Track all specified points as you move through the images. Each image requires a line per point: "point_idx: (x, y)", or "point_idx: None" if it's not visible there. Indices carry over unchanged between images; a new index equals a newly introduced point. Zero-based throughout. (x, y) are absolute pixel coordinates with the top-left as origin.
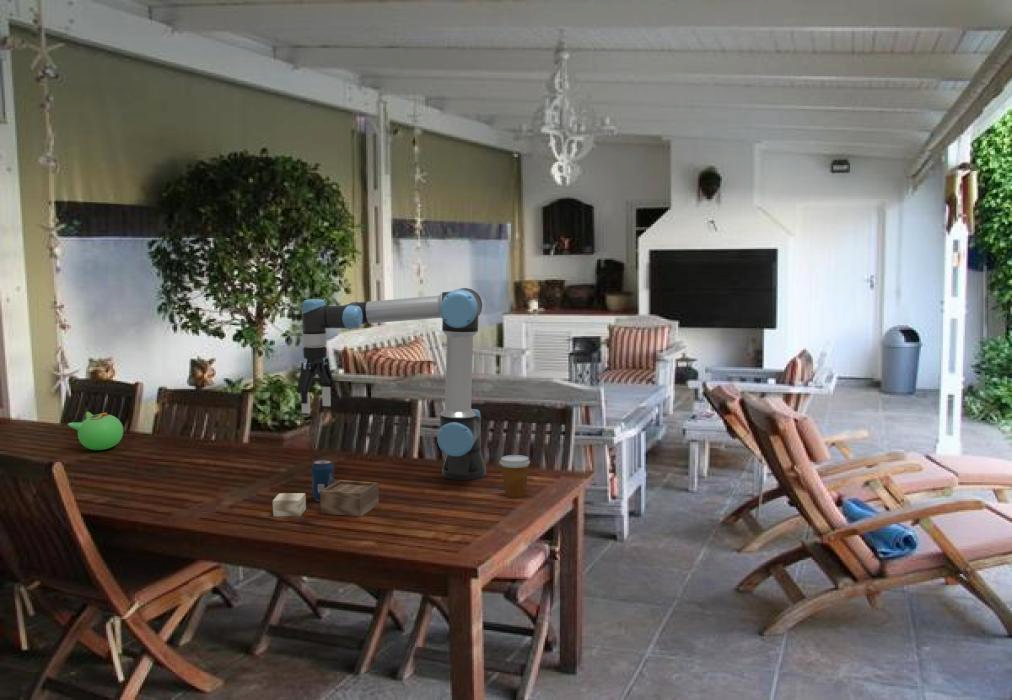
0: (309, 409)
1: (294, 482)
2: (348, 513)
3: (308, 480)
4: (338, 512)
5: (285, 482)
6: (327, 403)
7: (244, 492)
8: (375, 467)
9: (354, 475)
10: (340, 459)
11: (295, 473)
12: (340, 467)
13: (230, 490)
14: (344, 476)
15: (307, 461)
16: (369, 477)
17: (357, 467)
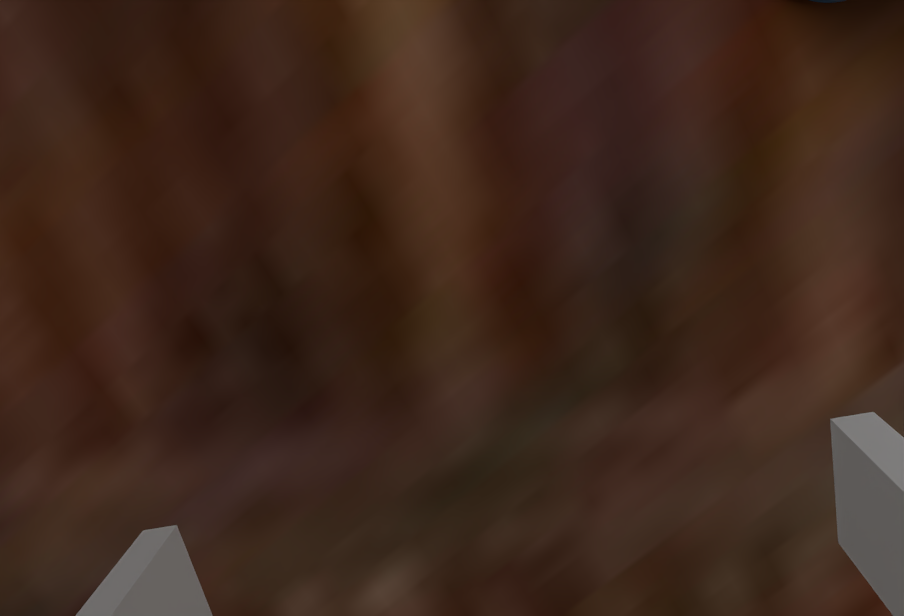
0: (896, 448)
1: (571, 366)
2: None
3: (496, 327)
4: None
5: (595, 409)
6: (168, 588)
7: None
8: (31, 174)
9: (256, 159)
10: (39, 477)
11: (412, 488)
12: (167, 362)
13: None
14: (310, 199)
15: None
16: (237, 32)
17: (104, 274)
